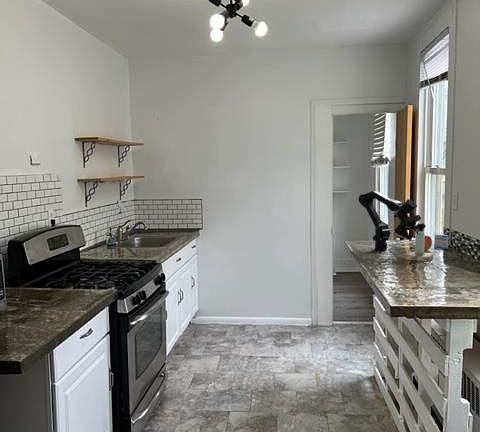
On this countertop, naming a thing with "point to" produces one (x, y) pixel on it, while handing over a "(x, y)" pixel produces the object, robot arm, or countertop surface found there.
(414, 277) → the countertop surface
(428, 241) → the apple
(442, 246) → the medicine box
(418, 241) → the sage bottle
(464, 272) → the countertop surface
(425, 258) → the birch pad
